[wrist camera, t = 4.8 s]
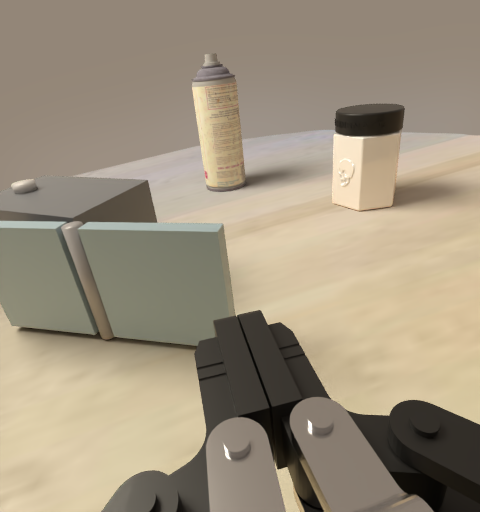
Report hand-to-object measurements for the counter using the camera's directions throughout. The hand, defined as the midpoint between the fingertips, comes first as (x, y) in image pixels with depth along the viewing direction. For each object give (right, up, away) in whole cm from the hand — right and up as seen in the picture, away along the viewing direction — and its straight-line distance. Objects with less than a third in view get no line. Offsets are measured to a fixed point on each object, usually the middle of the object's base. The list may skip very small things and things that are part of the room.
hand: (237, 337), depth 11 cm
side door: (-11, -4, +19) cm, 22 cm away
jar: (+17, +10, +39) cm, 44 cm away
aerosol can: (-2, +15, +52) cm, 54 cm away
